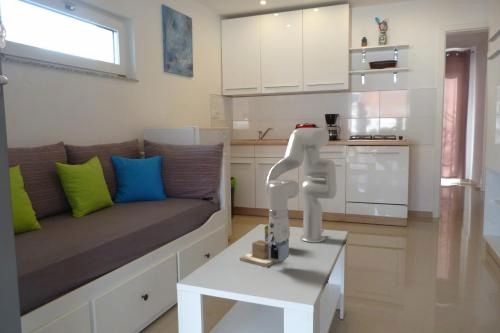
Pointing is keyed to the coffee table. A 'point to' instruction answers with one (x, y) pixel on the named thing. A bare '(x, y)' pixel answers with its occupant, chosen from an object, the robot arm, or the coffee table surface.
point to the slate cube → (281, 251)
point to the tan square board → (257, 260)
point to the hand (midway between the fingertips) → (278, 255)
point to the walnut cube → (260, 249)
